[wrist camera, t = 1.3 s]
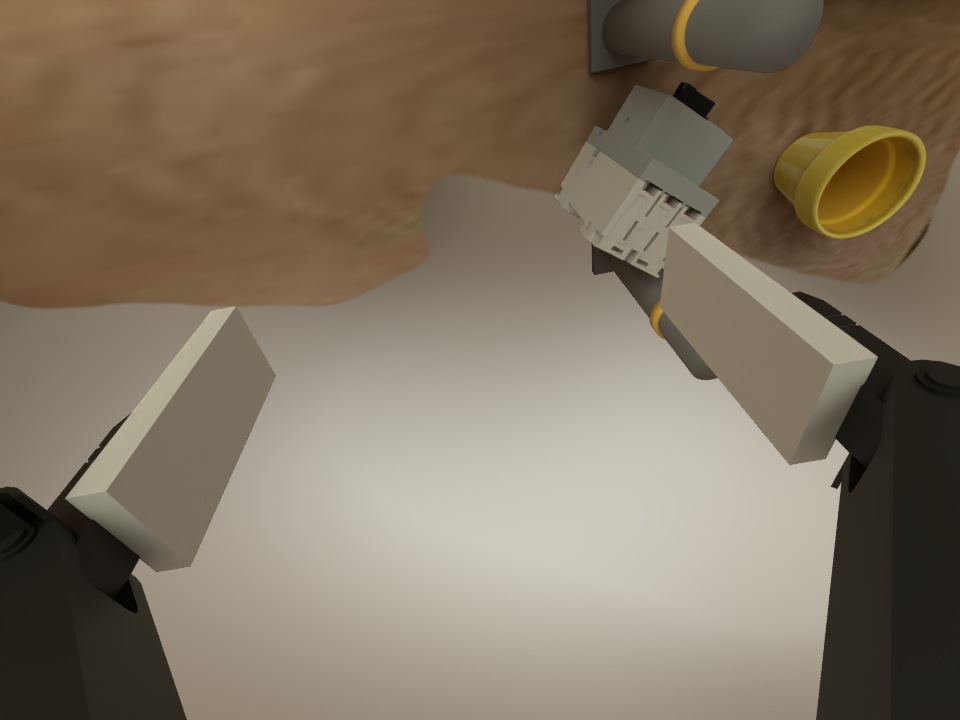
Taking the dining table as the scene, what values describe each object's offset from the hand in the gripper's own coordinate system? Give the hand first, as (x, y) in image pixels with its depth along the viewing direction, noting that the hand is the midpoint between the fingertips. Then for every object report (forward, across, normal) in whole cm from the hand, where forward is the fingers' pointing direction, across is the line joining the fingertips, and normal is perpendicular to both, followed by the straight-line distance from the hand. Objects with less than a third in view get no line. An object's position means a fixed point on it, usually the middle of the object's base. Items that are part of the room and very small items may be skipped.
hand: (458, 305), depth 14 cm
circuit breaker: (+39, +18, -7) cm, 43 cm away
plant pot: (+39, +40, -12) cm, 57 cm away
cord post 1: (+39, +18, +4) cm, 43 cm away
